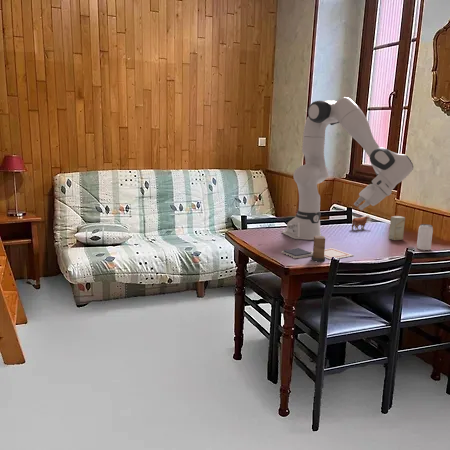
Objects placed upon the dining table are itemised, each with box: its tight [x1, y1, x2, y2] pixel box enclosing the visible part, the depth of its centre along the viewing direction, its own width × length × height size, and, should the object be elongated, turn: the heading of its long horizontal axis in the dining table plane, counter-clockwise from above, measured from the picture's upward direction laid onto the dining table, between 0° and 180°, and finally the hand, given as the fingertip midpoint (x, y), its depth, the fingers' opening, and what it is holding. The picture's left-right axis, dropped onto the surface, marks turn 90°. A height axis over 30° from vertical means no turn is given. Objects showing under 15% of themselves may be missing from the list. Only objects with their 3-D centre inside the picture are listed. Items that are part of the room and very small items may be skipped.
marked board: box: [310, 247, 354, 261], centre depth 220 cm, size 14×14×1 cm
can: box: [416, 223, 434, 251], centre depth 232 cm, size 6×6×12 cm
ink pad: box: [281, 247, 313, 259], centre depth 218 cm, size 10×10×2 cm
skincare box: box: [388, 215, 406, 241], centre depth 250 cm, size 6×4×12 cm
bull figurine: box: [351, 214, 372, 231], centre depth 271 cm, size 4×13×8 cm, turn 116°
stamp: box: [310, 235, 326, 263], centre depth 210 cm, size 6×6×10 cm
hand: (357, 207), depth 209 cm, fingers open, 8 cm apart
